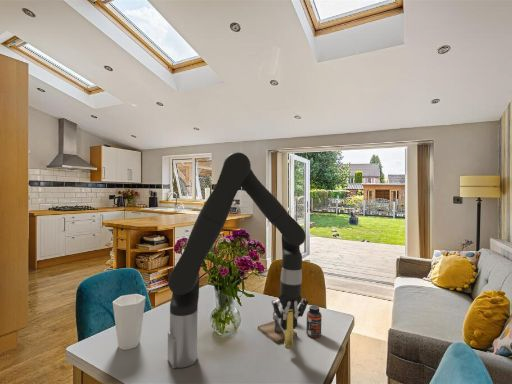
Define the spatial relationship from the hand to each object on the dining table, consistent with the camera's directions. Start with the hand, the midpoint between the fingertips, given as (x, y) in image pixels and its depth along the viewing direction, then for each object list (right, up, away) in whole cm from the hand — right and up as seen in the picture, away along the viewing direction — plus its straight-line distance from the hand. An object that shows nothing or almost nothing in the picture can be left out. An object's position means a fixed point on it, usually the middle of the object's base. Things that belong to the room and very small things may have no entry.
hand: (288, 328), depth 98 cm
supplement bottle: (+12, -10, +14) cm, 21 cm away
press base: (-3, -9, +15) cm, 18 cm away
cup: (-60, -9, +5) cm, 61 cm away
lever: (-2, -6, +8) cm, 11 cm away
